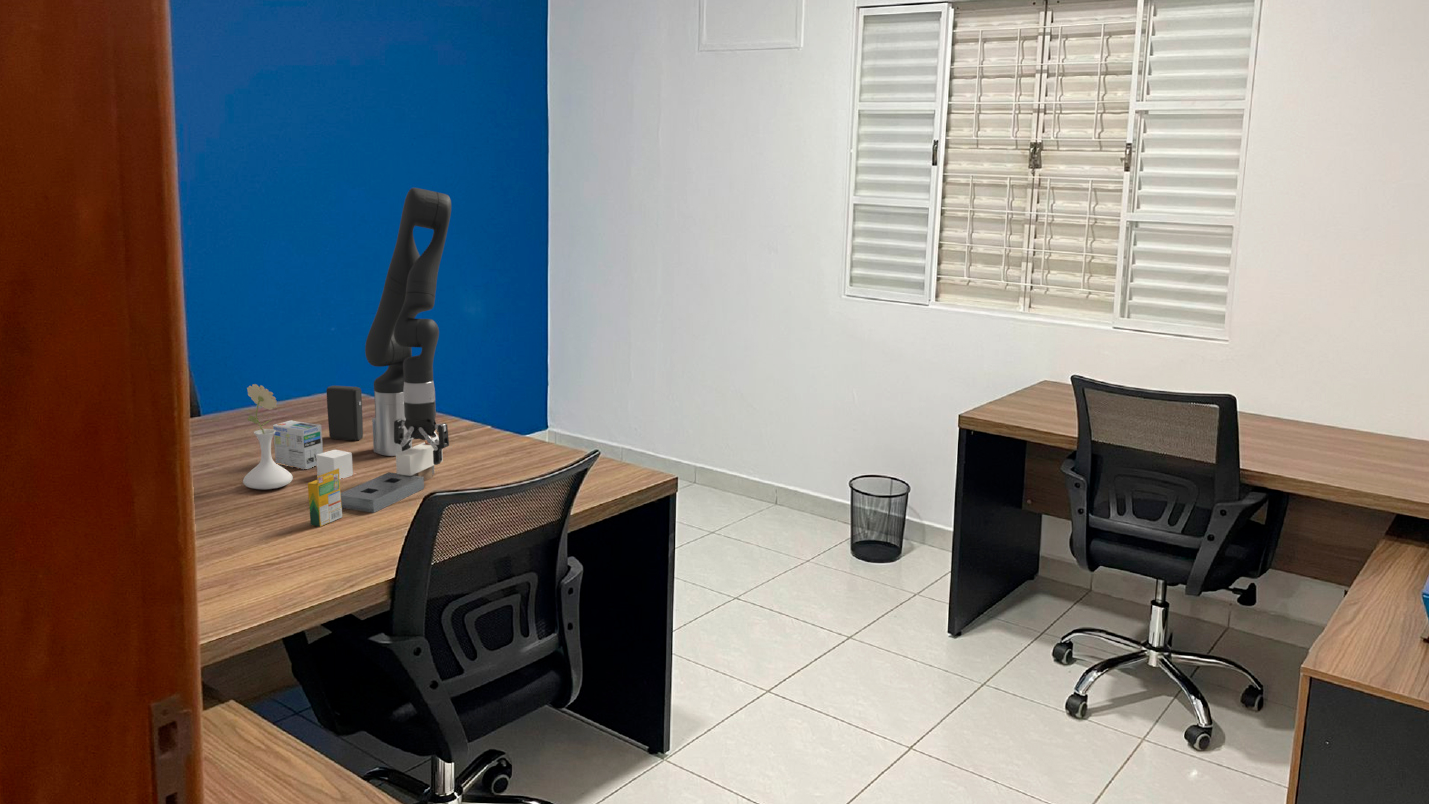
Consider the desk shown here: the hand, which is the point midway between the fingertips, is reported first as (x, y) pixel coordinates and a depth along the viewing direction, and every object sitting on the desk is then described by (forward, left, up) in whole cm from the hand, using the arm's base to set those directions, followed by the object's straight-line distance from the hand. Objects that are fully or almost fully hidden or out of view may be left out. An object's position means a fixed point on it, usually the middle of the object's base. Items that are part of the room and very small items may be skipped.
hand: (422, 462), depth 286 cm
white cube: (-22, -6, -5) cm, 23 cm away
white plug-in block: (-1, 0, -4) cm, 4 cm away
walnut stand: (-1, 0, -5) cm, 5 cm away
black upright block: (-42, +25, -5) cm, 49 cm away
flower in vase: (-32, -19, -5) cm, 37 cm away
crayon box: (-2, -35, -5) cm, 36 cm away
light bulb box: (-37, -1, -5) cm, 37 cm away
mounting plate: (-1, -16, -5) cm, 17 cm away
